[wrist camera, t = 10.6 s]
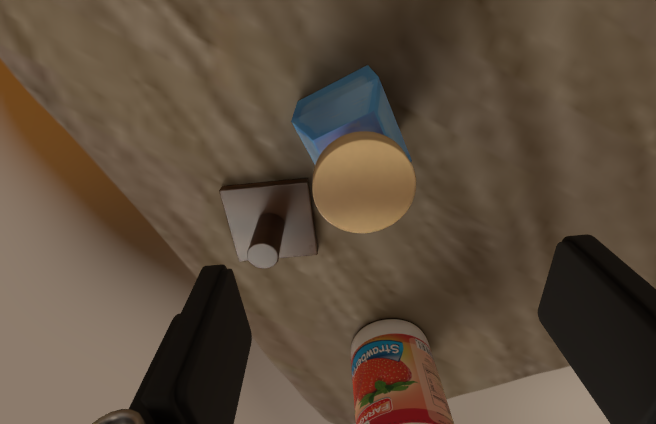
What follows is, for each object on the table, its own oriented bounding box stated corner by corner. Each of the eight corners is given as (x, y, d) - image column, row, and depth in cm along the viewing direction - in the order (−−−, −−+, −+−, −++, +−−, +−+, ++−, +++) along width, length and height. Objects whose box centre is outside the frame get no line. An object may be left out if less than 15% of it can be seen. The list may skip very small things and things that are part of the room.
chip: (307, 135, 17) (306, 145, 16) (411, 125, 17) (418, 134, 16) (318, 224, 20) (318, 237, 19) (409, 216, 20) (415, 229, 18)
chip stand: (221, 185, 32) (201, 218, 27) (308, 177, 32) (304, 209, 26) (240, 255, 36) (226, 296, 31) (317, 249, 35) (316, 289, 30)
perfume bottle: (367, 64, 27) (395, 95, 16) (396, 134, 30) (435, 199, 19) (297, 101, 28) (281, 151, 18) (331, 165, 31) (334, 240, 21)
